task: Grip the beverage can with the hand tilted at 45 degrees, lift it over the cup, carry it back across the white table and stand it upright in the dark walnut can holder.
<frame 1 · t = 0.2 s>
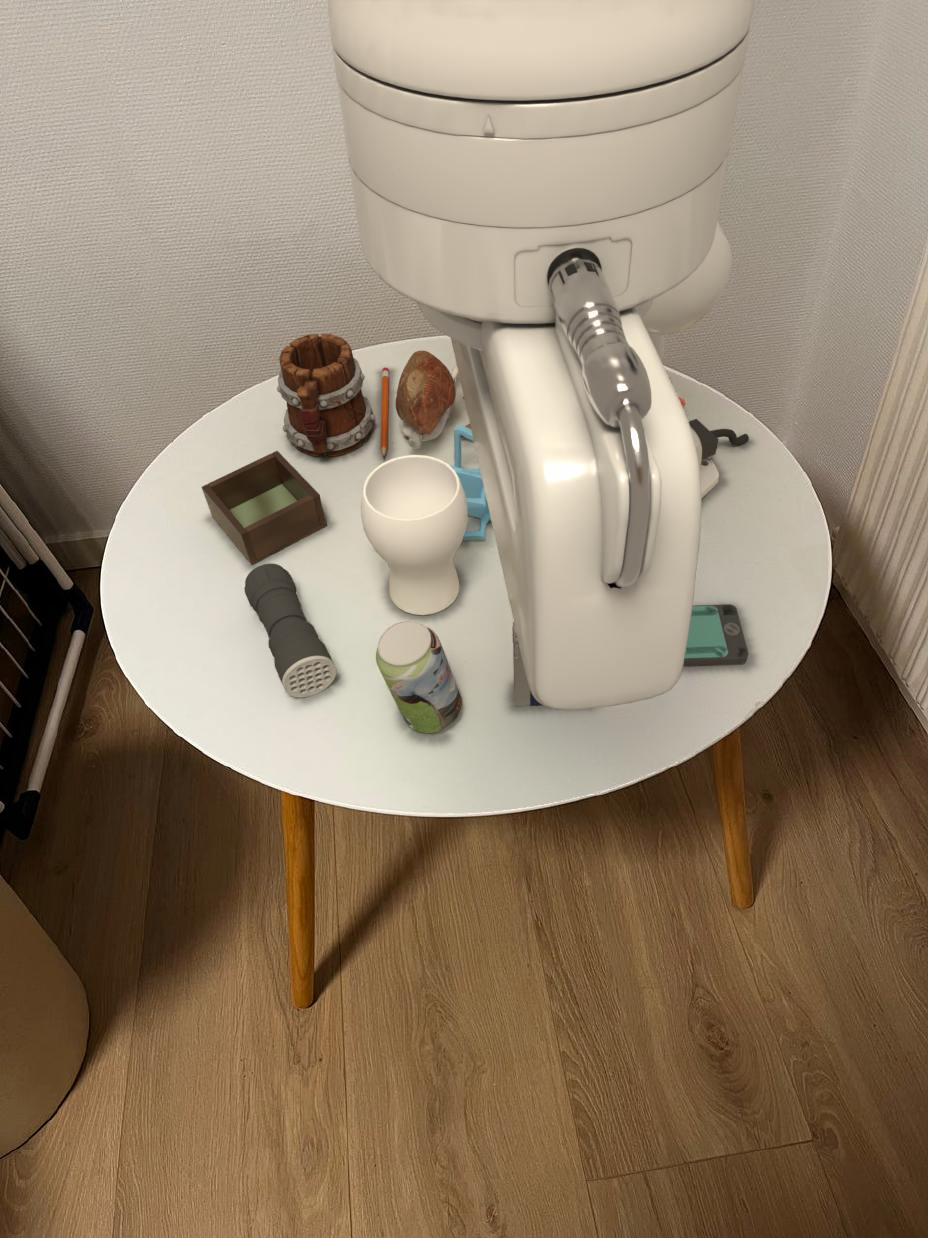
hand: (532, 559, 32), 51 cm above the table, tool pointing down, fingers open, 8 cm apart
fossil: (574, 400, 111), point 5 cm above the table
cup: (424, 589, 99), on the table
mug: (331, 440, 117), on the table
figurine: (432, 419, 118), on the table, touching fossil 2
beverage can: (425, 714, 89), on the table
flashlight: (293, 644, 96), on the table
pencil: (379, 412, 119), on the table
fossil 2: (400, 359, 111), point 9 cm above the table, touching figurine
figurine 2: (513, 400, 120), on the table
chair: (489, 455, 108), point 4 cm above the table
smartphone: (667, 639, 93), on the table
blue rectangular block: (550, 696, 90), on the table
can holder: (269, 521, 107), on the table
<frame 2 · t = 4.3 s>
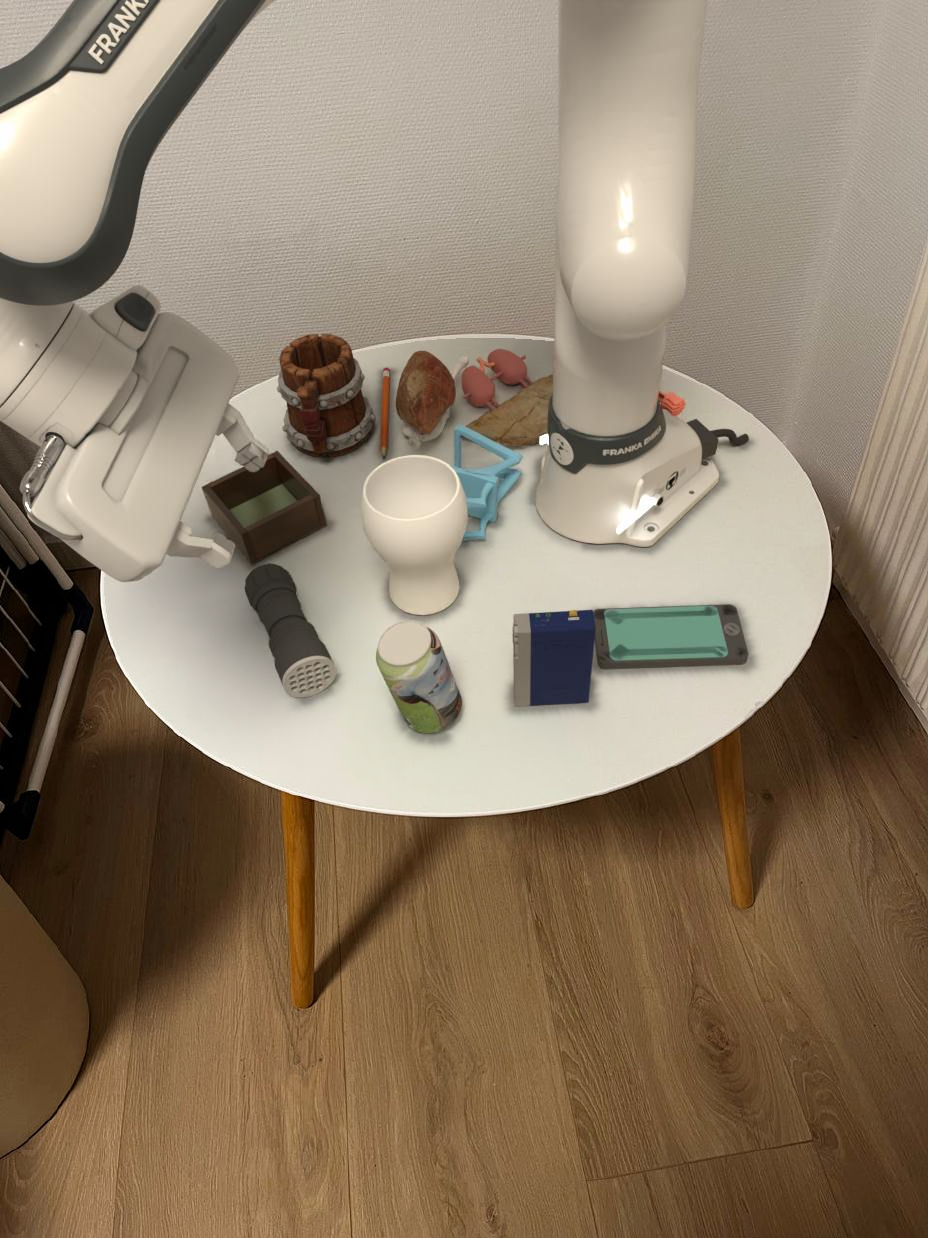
hand: (246, 508, 66), 29 cm above the table, tool tilted 40°, fingers open, 8 cm apart
nothing on the table moved.
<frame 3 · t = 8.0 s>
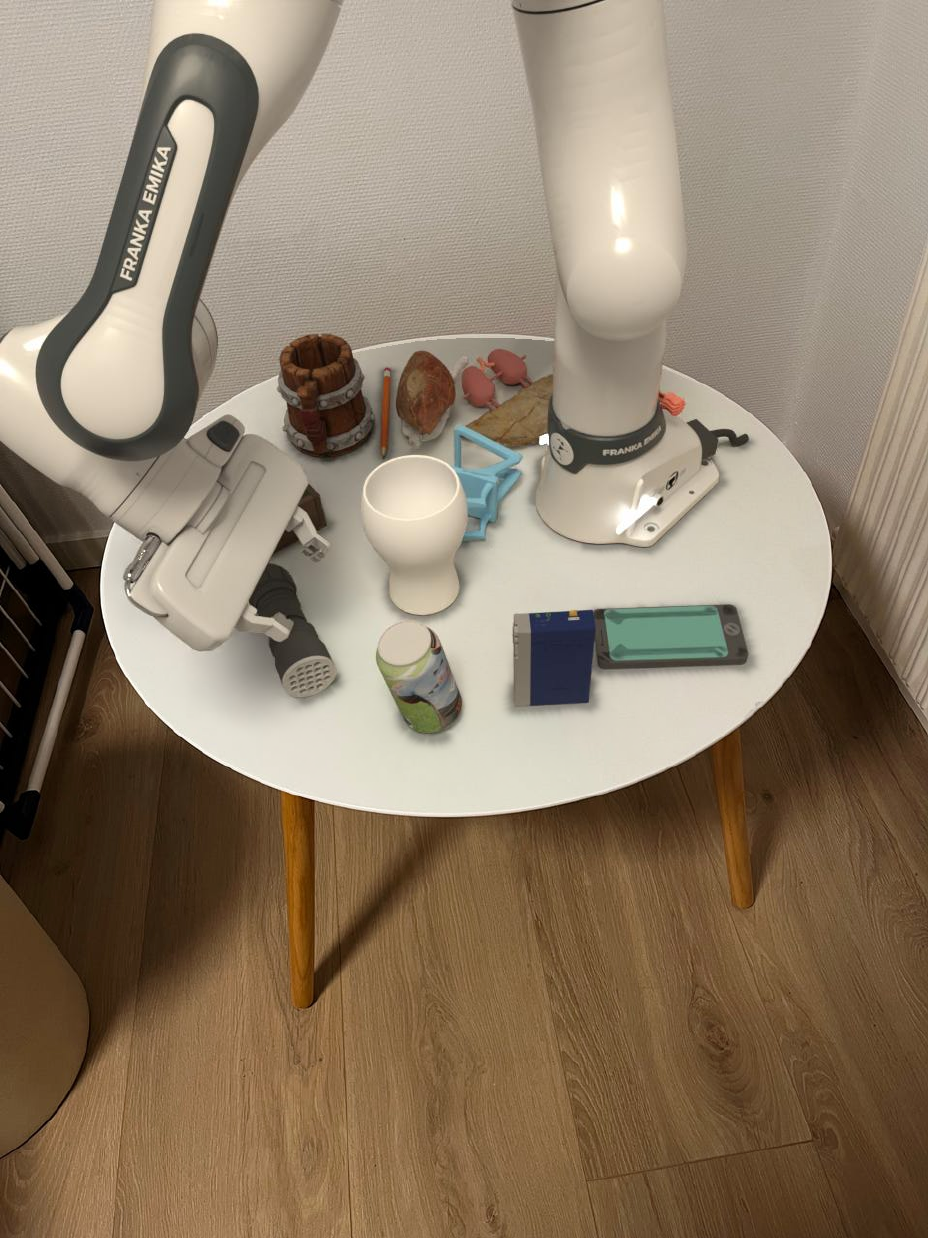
hand: (306, 592, 79), 15 cm above the table, tool tilted 45°, fingers open, 8 cm apart
nothing on the table moved.
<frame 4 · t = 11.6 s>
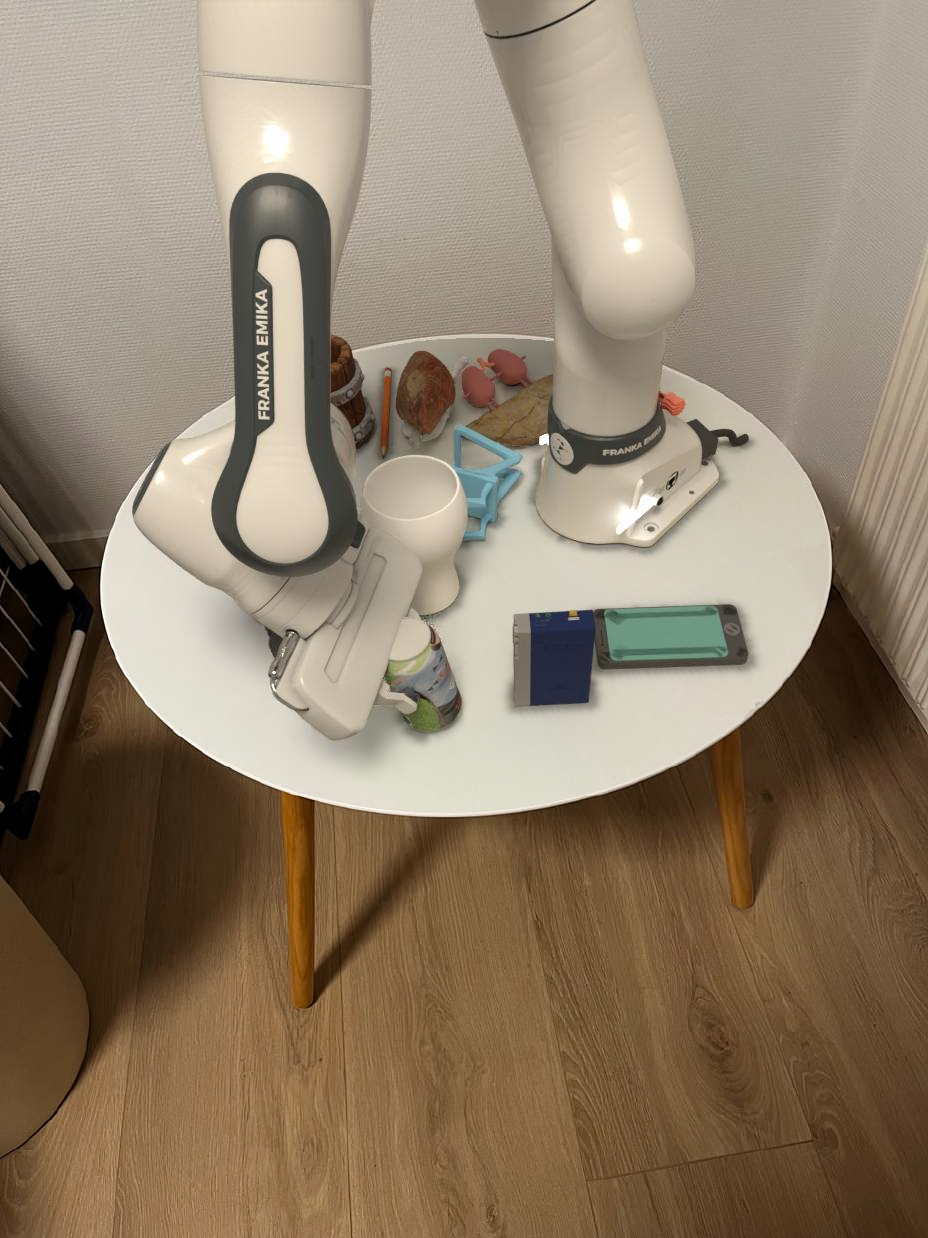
hand: (423, 677, 83), 7 cm above the table, tool tilted 45°, fingers closed on beverage can, 5 cm apart
beverage can: (425, 714, 89), on the table, touching gripper
everything else where it was.
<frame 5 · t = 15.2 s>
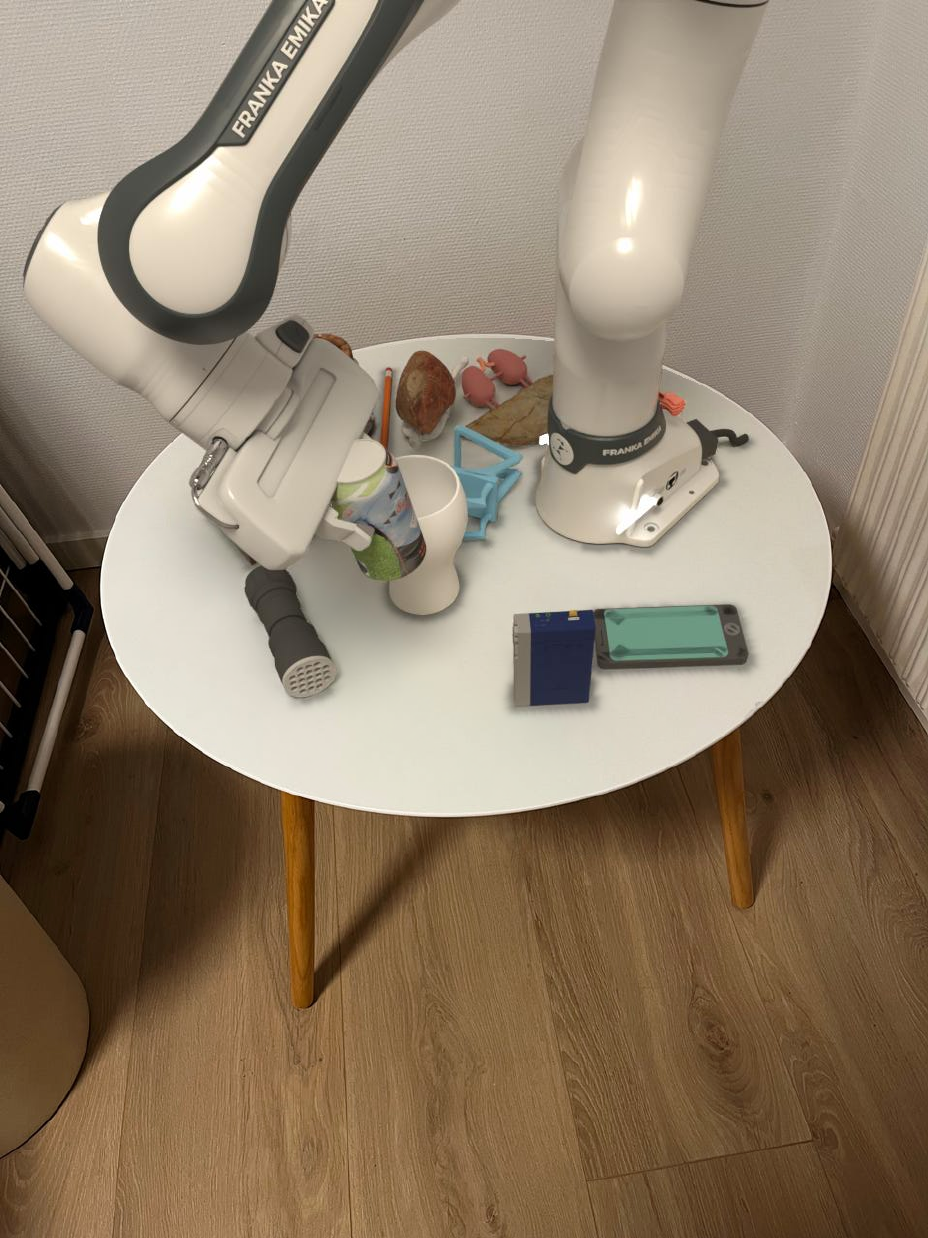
hand: (380, 513, 72), 24 cm above the table, tool tilted 45°, fingers closed on beverage can, 5 cm apart
beverage can: (385, 566, 78), point 17 cm above the table, touching gripper
everything else where it was.
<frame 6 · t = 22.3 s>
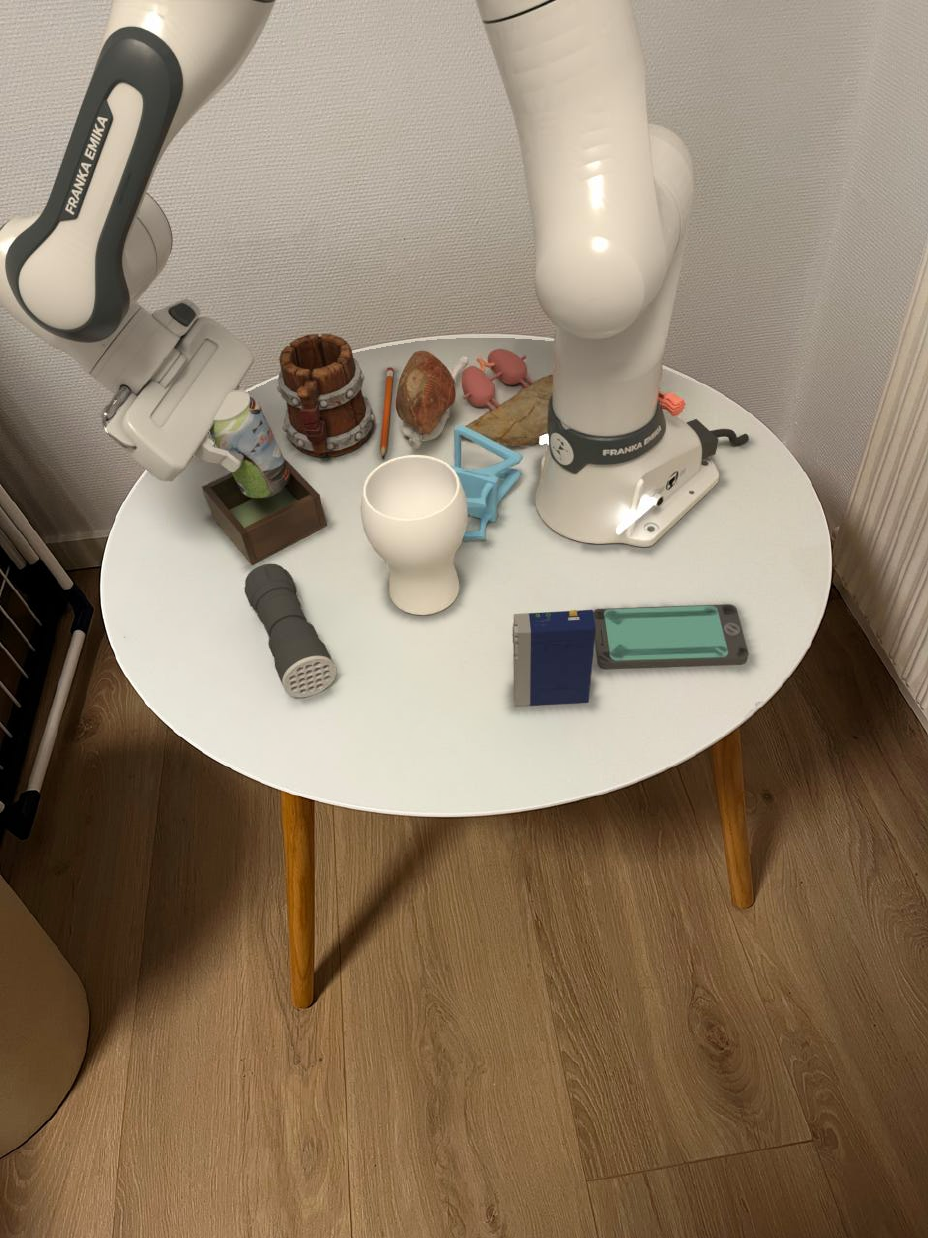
hand: (251, 445, 98), 12 cm above the table, tool tilted 45°, fingers closed on beverage can, 5 cm apart
beverage can: (261, 489, 104), point 5 cm above the table, touching gripper
everything else where it was.
when the fingers open (7 cm above the table, at t = 24.0 s): beverage can stays where it is, resting on can holder.
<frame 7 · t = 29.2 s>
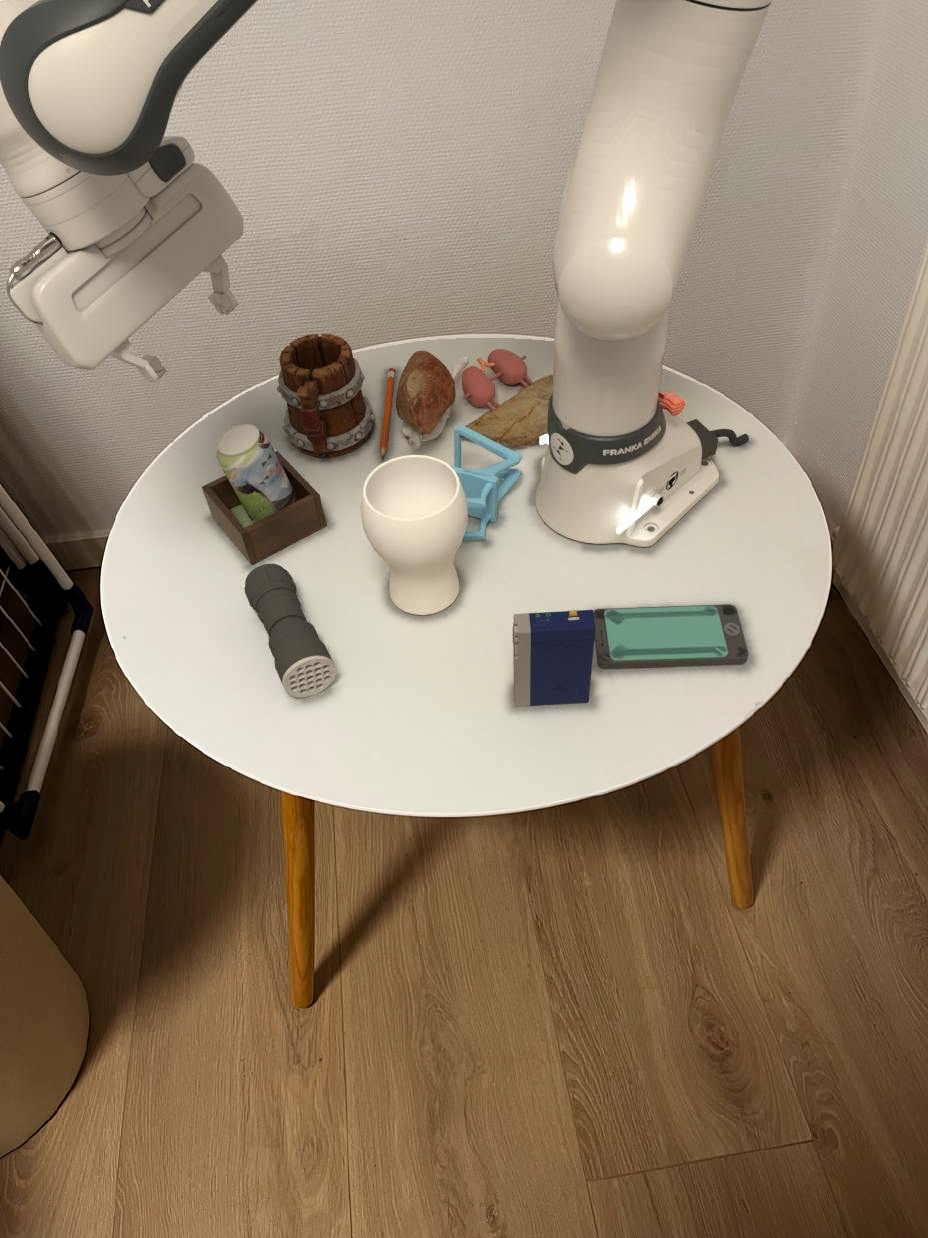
hand: (194, 342, 81), 29 cm above the table, tool tilted 20°, fingers open, 8 cm apart
beverage can: (269, 516, 107), point 1 cm above the table, touching can holder
everything else where it was.
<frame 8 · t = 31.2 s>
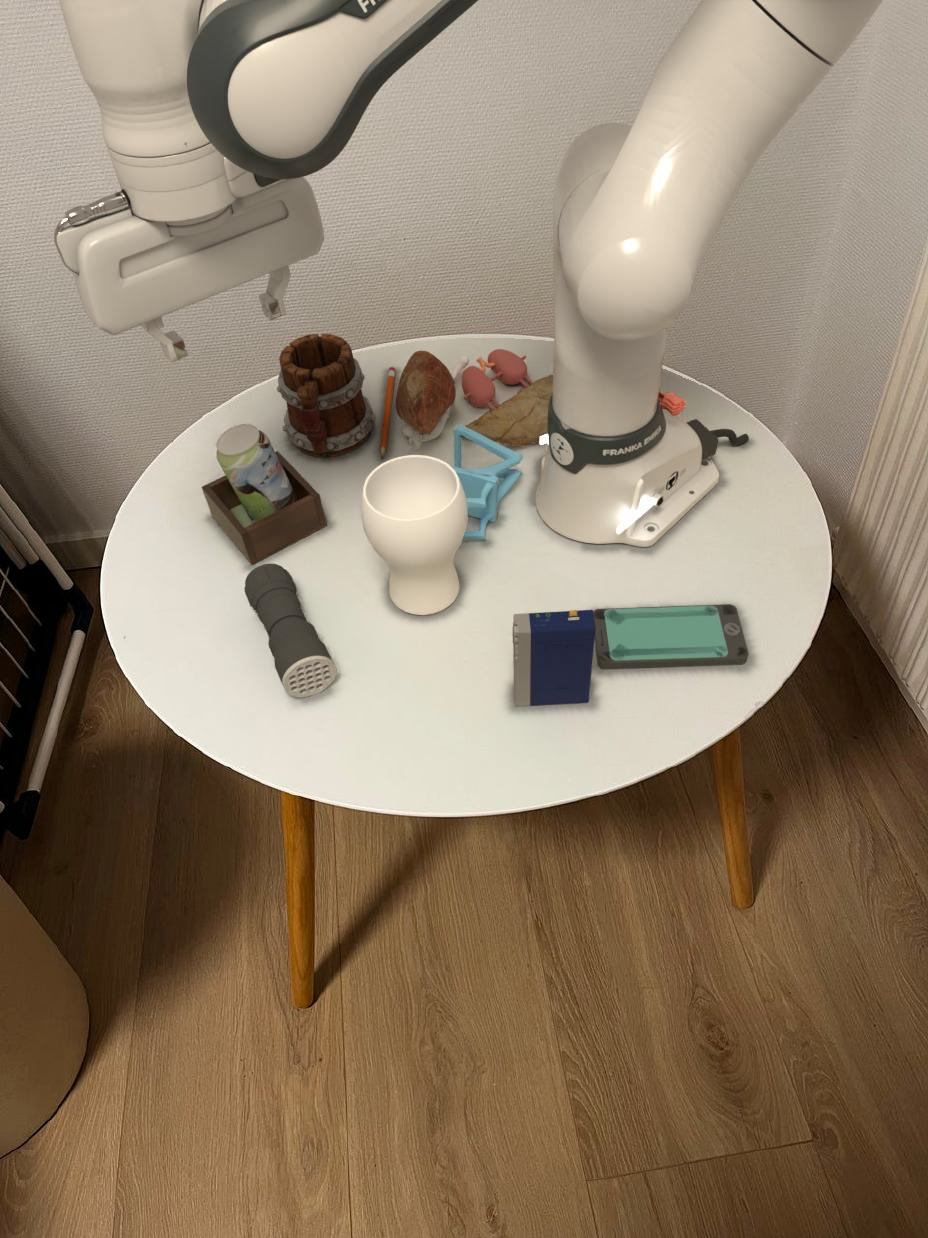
hand: (226, 335, 78), 31 cm above the table, tool pointing down, fingers open, 8 cm apart
nothing on the table moved.
at the end: beverage can 0.4 cm off-centre in the can holder, point 0.5 cm above the can holder's base; beverage can tilted 0°; the gripper is holding nothing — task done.
